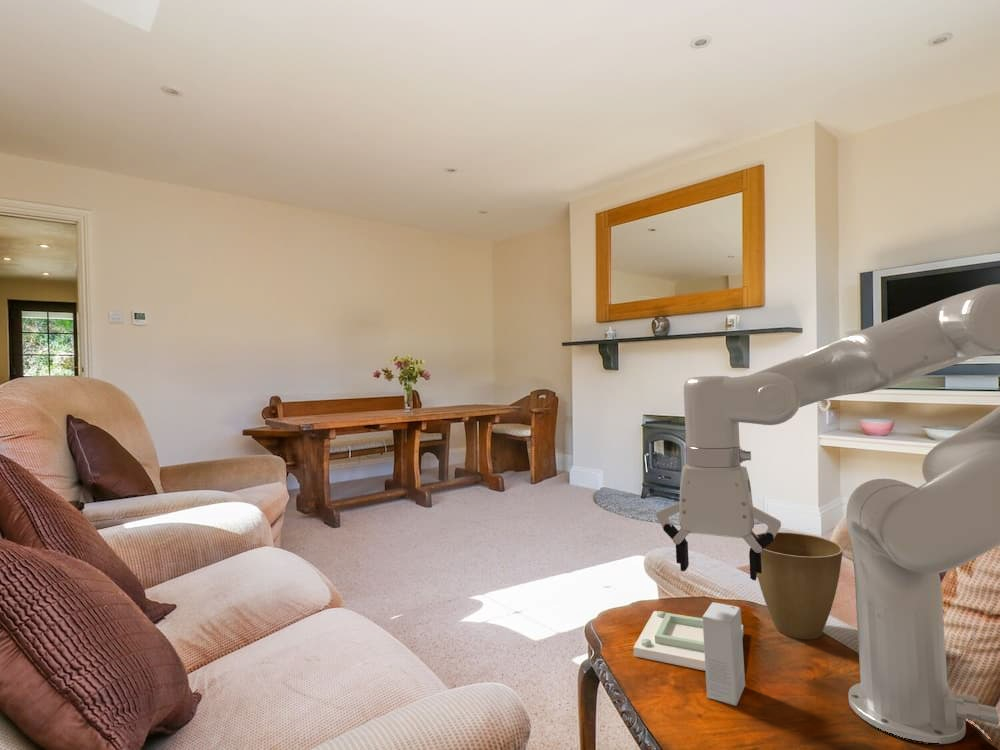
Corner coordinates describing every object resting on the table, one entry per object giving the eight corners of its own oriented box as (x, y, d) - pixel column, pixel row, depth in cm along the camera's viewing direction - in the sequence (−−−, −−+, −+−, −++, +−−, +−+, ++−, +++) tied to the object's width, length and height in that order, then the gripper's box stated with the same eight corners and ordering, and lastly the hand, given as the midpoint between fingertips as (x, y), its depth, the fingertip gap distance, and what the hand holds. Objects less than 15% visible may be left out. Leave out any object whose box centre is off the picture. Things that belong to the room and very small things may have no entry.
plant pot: (752, 641, 94) (747, 550, 94) (755, 608, 107) (751, 528, 107) (852, 657, 87) (847, 559, 87) (843, 620, 100) (838, 535, 100)
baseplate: (743, 633, 97) (742, 618, 97) (736, 676, 83) (735, 659, 83) (654, 618, 104) (653, 604, 104) (633, 656, 90) (633, 640, 90)
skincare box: (716, 678, 82) (712, 601, 83) (745, 686, 80) (741, 606, 80) (705, 698, 78) (701, 615, 78) (736, 707, 75) (732, 622, 75)
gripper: (778, 456, 79) (783, 572, 78) (659, 453, 87) (664, 558, 87) (777, 463, 72) (783, 590, 72) (649, 459, 81) (654, 573, 80)
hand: (718, 572), depth 79 cm, fingers open, 9 cm apart
